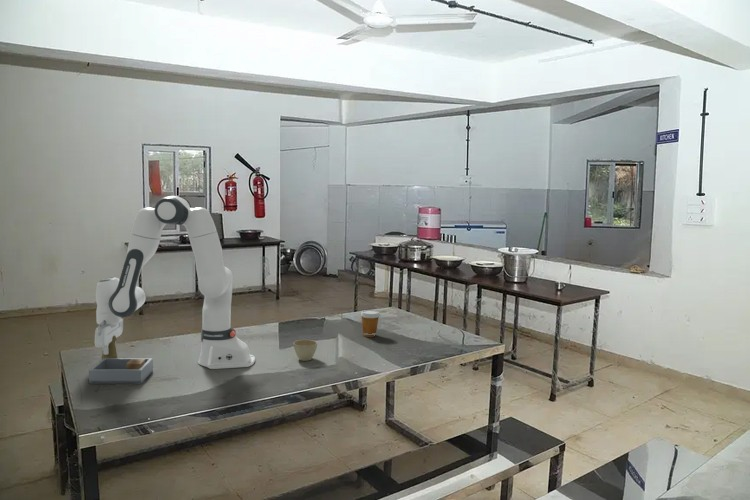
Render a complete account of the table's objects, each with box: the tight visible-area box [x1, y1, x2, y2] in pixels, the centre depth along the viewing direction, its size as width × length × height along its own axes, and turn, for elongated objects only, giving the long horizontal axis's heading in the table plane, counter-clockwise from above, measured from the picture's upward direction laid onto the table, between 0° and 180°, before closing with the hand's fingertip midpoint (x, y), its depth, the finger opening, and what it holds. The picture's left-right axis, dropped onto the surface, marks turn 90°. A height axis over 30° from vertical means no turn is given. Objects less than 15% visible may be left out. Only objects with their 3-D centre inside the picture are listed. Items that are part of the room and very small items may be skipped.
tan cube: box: [126, 359, 145, 369], centre depth 205 cm, size 5×5×5 cm
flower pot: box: [293, 339, 318, 362], centre depth 233 cm, size 10×10×7 cm
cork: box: [101, 335, 118, 360], centre depth 220 cm, size 6×6×11 cm
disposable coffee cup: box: [360, 309, 381, 338], centre depth 273 cm, size 10×10×12 cm
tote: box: [88, 357, 154, 385], centre depth 204 cm, size 18×14×5 cm
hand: (109, 351), depth 221 cm, fingers closed on cork, 5 cm apart
